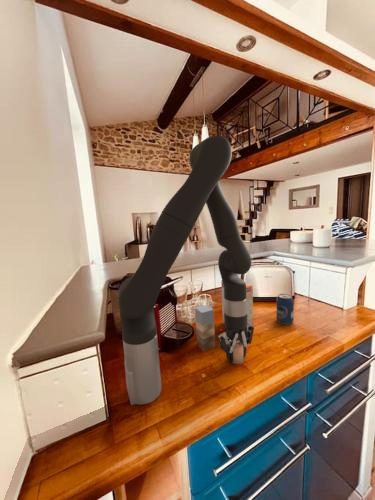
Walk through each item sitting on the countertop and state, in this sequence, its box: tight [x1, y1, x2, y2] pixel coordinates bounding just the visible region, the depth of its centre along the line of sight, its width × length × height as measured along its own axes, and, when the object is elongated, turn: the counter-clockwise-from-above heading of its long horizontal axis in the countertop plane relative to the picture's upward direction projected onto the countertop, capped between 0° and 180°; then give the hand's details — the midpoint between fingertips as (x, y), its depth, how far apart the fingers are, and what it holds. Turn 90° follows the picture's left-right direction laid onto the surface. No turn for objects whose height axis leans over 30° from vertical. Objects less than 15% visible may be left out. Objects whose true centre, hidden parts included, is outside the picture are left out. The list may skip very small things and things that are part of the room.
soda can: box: [276, 293, 295, 325], centre depth 95 cm, size 7×7×12 cm
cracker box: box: [221, 279, 254, 327], centre depth 90 cm, size 14×6×21 cm, turn 25°
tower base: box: [196, 333, 216, 352], centre depth 80 cm, size 5×5×5 cm
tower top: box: [194, 304, 215, 326], centre depth 79 cm, size 5×5×5 cm
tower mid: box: [195, 320, 216, 339], centre depth 79 cm, size 5×5×5 cm
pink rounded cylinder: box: [229, 340, 245, 365], centre depth 71 cm, size 5×5×6 cm
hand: (236, 358), depth 72 cm, fingers closed on pink rounded cylinder, 4 cm apart
